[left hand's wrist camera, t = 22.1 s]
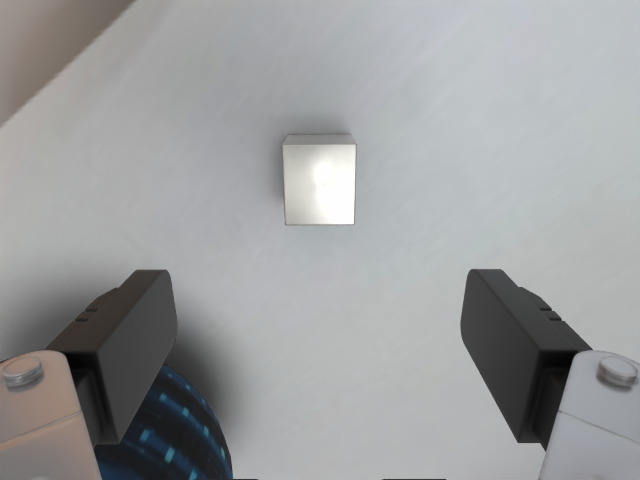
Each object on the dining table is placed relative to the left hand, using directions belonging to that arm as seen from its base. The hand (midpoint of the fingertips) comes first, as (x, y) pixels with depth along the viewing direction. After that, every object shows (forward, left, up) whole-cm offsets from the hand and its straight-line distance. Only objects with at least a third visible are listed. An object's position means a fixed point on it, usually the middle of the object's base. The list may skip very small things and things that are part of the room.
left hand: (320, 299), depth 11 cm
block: (0, 0, -17) cm, 17 cm away
